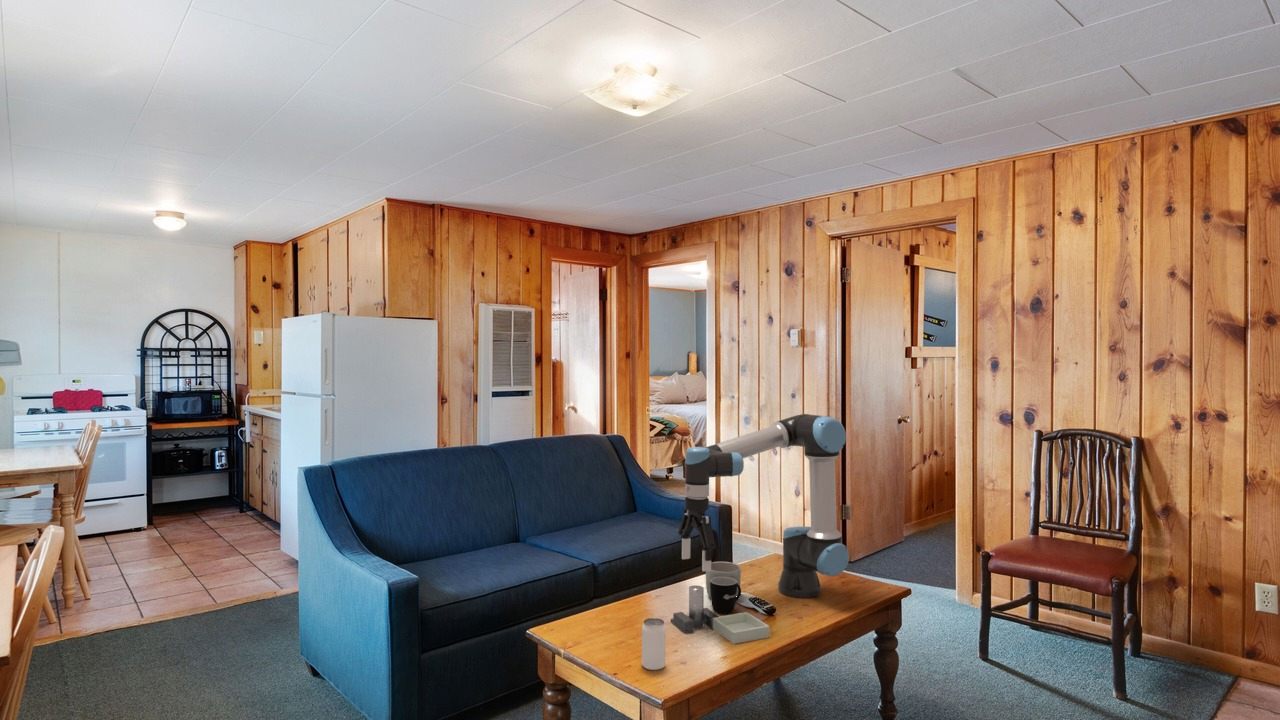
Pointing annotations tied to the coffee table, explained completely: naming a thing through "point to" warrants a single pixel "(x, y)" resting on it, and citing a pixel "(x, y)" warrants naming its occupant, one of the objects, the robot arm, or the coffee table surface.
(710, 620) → the hitch clevis
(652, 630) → the can
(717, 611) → the mug
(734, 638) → the tray
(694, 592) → the pin
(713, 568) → the planter
